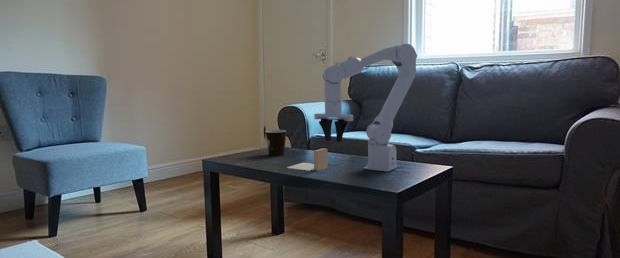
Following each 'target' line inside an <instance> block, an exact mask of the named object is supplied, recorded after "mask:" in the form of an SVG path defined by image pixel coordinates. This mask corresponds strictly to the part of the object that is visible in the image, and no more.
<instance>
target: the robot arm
mask: <svg viewBox="0 0 620 258" xmlns="http://www.w3.org/2000/svg"><path fill="white" fill-rule="evenodd" d="M417 58H418V54H417V51H416V50H415V48H414V45H412V44H409V43H403V44H399V45H398V44H396V45H393V46H390V47H384V48H381V49H379V50H377V51H375V52H372V53H370V54H368V55H365V56H363V57H360V58H359V57H357V56H354V57H353V56H347V59H346V60H343V61H340V62H335V63H334V65H332V66H331V65H330V66H328V67H326V68H325V69H324V70H323V74H322V78H323V80H324V113H314V115H313V116H314V117H313V118H314V120H319V122H318V123H319V126H320V127H321V129H322V131H323V134H324V137H325V141H326V142H329V141H331V140H332V126H333V123H334V126H335V132H336V133H335V134H336V137H335V138H336V142H338V143H340V142H342V141H343V136H344V132H345V130H346V127H347V125H348V124H349V122H353V121H354V115H353V114H347V113H346V114H345V113H343V111H342V109H343V107H342V106H343V105H342V104H343V102H342V100H343V99H342V80H345V79H348V78H350V77H353V76H355V75H358V74H360V73H362V72H363V69H364V68H365V67H367V66H371V65H372V64H375V63H379V62H381V61H391V62H392V63H393V65H394V66H396V69H397V71H398V77H397V78H396V80H395V83H394V84H393V86H392V88H391V91H390V92H389V94H388V96H387V98H386V100H385V102H384V104H383V106H382V108H381V110H380V112H379V114H378V115H377V116H376V117H375V118H374V120H373V121H372V123H371V124H368V126H367V127H366V131H365V133H366V136H367V138H368V141H367V150H368V151H367V153H368V154H367V165H366V166H364V167H363V169H364V170H371V171H381V172H391V171H392V170H395V169H397V168H398V165H397V147H396V145H394V144H392V143H390V140H391V138H392V129H393V128H394V119H395V117H396V115H397V113H398V112H399V110H400V107H401V105H402V104H403V102H404V99H405V97H406V96H407V94H408V92H409V90H410V88H411V85H412V83H413V81H414V80H415V77H416V75H417Z"/></svg>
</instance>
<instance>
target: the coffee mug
mask: <svg viewBox="0 0 620 258" xmlns="http://www.w3.org/2000/svg"><path fill="white" fill-rule="evenodd" d="M265 136H266V144H267V150H268V156H269V157H283V156H285V153H286V152H285V151H286V139H287V130H284V129H271V130H270V129H269V130H266V131H265Z"/></svg>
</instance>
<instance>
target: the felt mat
mask: <svg viewBox="0 0 620 258" xmlns="http://www.w3.org/2000/svg"><path fill="white" fill-rule="evenodd" d="M286 169H289V170H290V169H291V170H296V171H297V170H298V171H304V170H305V172H311V170H312V171H314V163H309V162H300V163H297V164H293V165H291V166H290V165H289V166H286Z"/></svg>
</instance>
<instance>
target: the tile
mask: <svg viewBox="0 0 620 258" xmlns="http://www.w3.org/2000/svg"><path fill="white" fill-rule="evenodd" d="M328 158H329V157H328V148H319V149H315V150H313V164H314V170H316V172H319V170H320V171H322V169H323V170H325V168H326V169H328V165H329V163H328V160H329V159H328ZM314 170H313V171H314Z"/></svg>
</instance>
